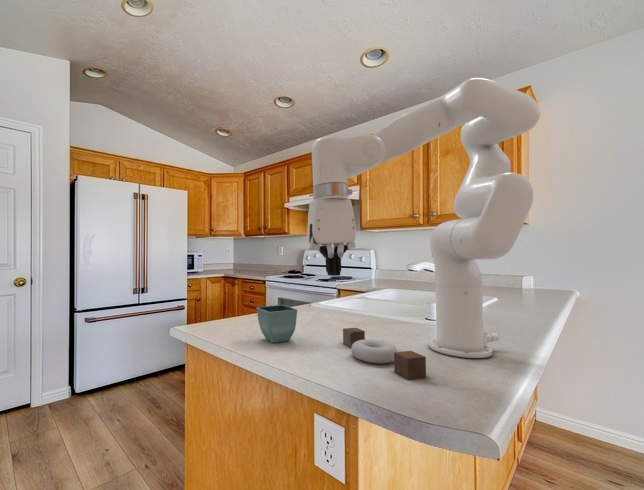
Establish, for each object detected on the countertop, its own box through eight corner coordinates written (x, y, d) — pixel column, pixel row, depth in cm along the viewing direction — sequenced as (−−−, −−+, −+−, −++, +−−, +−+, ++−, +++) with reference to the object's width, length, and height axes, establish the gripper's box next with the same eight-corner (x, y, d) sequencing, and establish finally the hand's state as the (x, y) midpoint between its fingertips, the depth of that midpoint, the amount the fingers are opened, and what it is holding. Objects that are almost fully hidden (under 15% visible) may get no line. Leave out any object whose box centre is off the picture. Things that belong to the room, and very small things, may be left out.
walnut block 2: (411, 370, 65) (411, 350, 65) (426, 377, 61) (425, 356, 61) (394, 372, 64) (393, 352, 64) (408, 379, 60) (407, 358, 60)
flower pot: (269, 346, 83) (268, 311, 83) (256, 338, 91) (255, 306, 91) (298, 342, 86) (298, 309, 86) (283, 334, 94) (283, 304, 94)
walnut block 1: (356, 342, 85) (356, 327, 85) (365, 346, 81) (364, 331, 81) (343, 343, 84) (342, 328, 84) (350, 347, 80) (350, 332, 80)
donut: (353, 365, 68) (403, 367, 66) (352, 349, 68) (402, 350, 66) (349, 351, 78) (393, 352, 76) (348, 337, 78) (392, 337, 76)
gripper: (351, 197, 77) (354, 272, 77) (293, 197, 74) (296, 276, 74) (369, 191, 70) (373, 274, 70) (305, 191, 67) (309, 278, 67)
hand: (333, 275), depth 72 cm, fingers closed
